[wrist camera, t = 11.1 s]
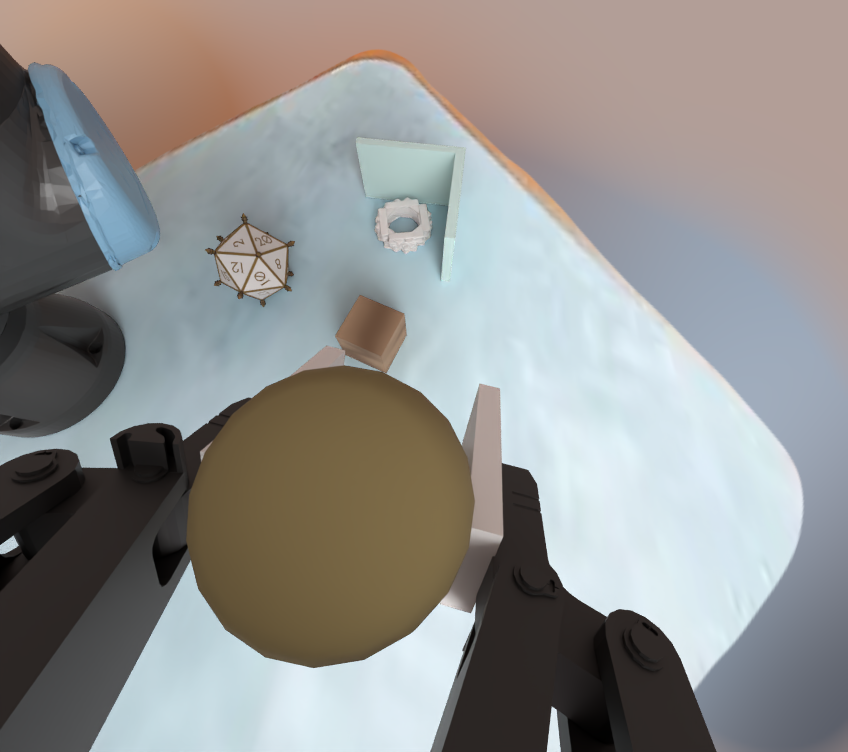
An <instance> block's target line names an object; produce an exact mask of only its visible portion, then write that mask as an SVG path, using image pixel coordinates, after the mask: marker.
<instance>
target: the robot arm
mask: <svg viewBox="0 0 848 752" xmlns="http://www.w3.org/2000/svg"><path fill="white" fill-rule="evenodd" d="M159 239H160V228H159V223H158V220H157V217H156V214H155V212H154V209H153V207H152V205H151V202H150V200H149V198H148V196H147V194H146V192H145V190H144V188H143V186H142V184H141V182H140V181H139V179H138V177H137V175H136V173H135V172H134V170H133V168H132V166H131V165H130V163H129V161H128V159H127V158H126V156H125V154H124V153H123V151H122V149H121V148H120V146H119V145H118V143H117V141H116V140H115V138H114V137H113V135H112V134H111V132H110V131H109V129H108V128H107V126H106V124H105V123H104V121H103V120H102V118H101V117H100V116H99V114H98V113H97V111H96V110H95V108H94V107H93V106H92V104H91V103H90V101H89V100H88V99H87V98H86V96H85V95H84V94H83V92H82V91H81V90H80V89H79V88H78V87H77V86H76V85H75V83H73V82H72V81H71V80H70V79H69V77H68V76H67V75H66V74H65V73H64V72H63V71H62V70H61V69H59V68H58V67H55V66H53V65H48V64H46V65H41V64H38V63H35V62H34V63H32V64H30V65H29V67H28V70H26V69H24V68H23V67H22V66H20V65H19V64H18V63H17V62H16V61H15V60H14V59H13V58H12V56H11V55H10V54H9V53H8V52H7V51H6V50H5V49H4V48H3V47H2V46H1V45H0V434H2V435H9V436H16V437H27V438H28V437H40V436H46V435H50V434H53V433H57V432H59V431H62V430H64V429H66V428H69V427H71V426H72V425H74V424H76V423H78V422H79V421H81V420H82V419H84V418H85V417H87V416H88V415H89V414H90V413H92V412H93V411H94V410H95V409H96V408H97V407H98V406H99V405H100V404H101V403H102V402H103V401H104V400H105V399H106V397H107V396H108V395H109V394H110V392H111V391H112V389H113V388H114V386H115V384H116V382H117V380H118V378H119V376H120V374H121V371H122V368H123V364H124V358H125V344H124V339H123V335H122V333H121V330H120V328H119V327H118V325H117V324H116V323H115V321H114V320H113V319H112V318H111V317H110V316H108V315H107V314H105V313H104V312H102V311H100V310H99V309H97V308H95V307H93V306H92V305H90V304H88V303H86V302H84V301H81V300H79V299H76V298H72V297H68V296H64V295H60V294H55V293H56V292H59V291H61V290H63V289H66V288H68V287H71V286H73V285H76V284H78V283H80V282H83V281H85V280H88V279H90V278H93V277H95V276H97V275H100V274H102V273H105V272H107V271H110V270H112V269H113V270H115V271H116V270H119V269H120V268H122V265H123V264H125V263H127V262H129V261H131V260H133V259H135V258H137V257H139V256H141V255H144V254H146V253H148V252H150V251H151V250H153V249H154V248H155V247H156V245H157V244H158V242H159ZM344 359H345V350H342V349H338V348H334V347H329V346H325V347H324V348H323V349H322V350H321V351H319V352H318V353H317V354H316V355H315V356H313V357H312V358H311V359H310V360H309V361H308V362H306V363H305V364H304V365H303V366H302V367H300V368H299V369H298V370H297V371H296V372H294V373H293V374H292V375H295V374H297V373H299V372H301V371H304V370H311V369H319V368H327V367H335V366H343V365H344ZM292 375H291V376H292ZM250 399H252V398H246V399H243V400H241V401H238V402H236V403H233V404H231V405H230V406H229V407H227V408H226V409H225V410H223V411H222V412H221V413H219V416H215V417H214V418H213V419H211V420H210V421H209V423H208V424H207V423H206V424H205V425H203V426H202V427H201V428H200V429H198V430H197V431H196V432H194V433H193V434H192V435H190V436H189V437H188V438H186V439H185V440H184V441H183V440H182V435H181V432H180V430H179V429H177V428H176V427H174V426H172V425H168V424H163V423H148V424H143V425H138V426H133V427H131V428H128V429H126V430H123V431H120V432H119V433H117V434H116V435H114V436H113V437H111V438H110V441H111V445H112V449H113V452H114V456H115V460H116V463H117V467H118V468H81V465H80V462H79V459H78V456H77V454H75V453H73V452H71V451H70V450H63V449H49V450H40V451H36V452H33V453H29V454H25V455H22V456H20V457H18V458H15V459H13V460H11V461H8V462H6V463H5V464H3V465H1V466H0V545H1V544H2V543H4V542H5V541H6V540H8V539H9V538H11V537H12V536H13V535H14V537H15V539H16V541H17V543H18V545H19V546H18V547H17V548H15V549H13V550H11V551H9V552H8V553H6V554H0V752H89V751H90V749H91V747H92V745H93V743H94V741H95V739H96V737H97V736H98V734H99V732H100V730H101V728H102V726H103V724H104V722H105V721H106V719H107V717H108V715H109V713H110V711H111V709H112V707H113V705H114V704H115V702H116V700H117V698H118V696H119V694H120V692H121V690H122V688H123V687H124V685H125V683H126V681H127V679H128V677H129V675H130V673H131V671H132V670H133V668H134V666H135V664H136V662H137V660H138V658H139V656H140V655H141V653H142V651H143V649H144V647H145V645H146V643H147V641H148V639H149V638H150V636H151V634H152V632H153V630H154V628H155V626H156V624H157V622H158V621H159V619H160V617H161V615H162V613H163V611H164V609H165V607H166V606H167V604H168V602H169V600H170V598H171V596H172V594H173V592H174V590H175V589H176V587H177V585H178V583H179V581H180V579H181V577H182V575H183V573H184V572H185V570H186V568H187V566H188V564H189V562H190V560H191V558H190V554H189V550H188V546H187V542H186V535H187V520H188V505H189V494H190V491H191V489H192V486H193V483H194V480H195V478H196V475H197V472H198V470H199V467H200V464H201V462H202V459H203V456H204V453H205V452H206V450H207V449H208V447H209V446H210V445H211V443H212V442H213V440H214V439H215V438H216V436H217V435H218V433H219V432H220V431H221V429H222V428H223V427H224V425H225V424H226V422H227V421H228V420H229V418H230V417H231V415H232V414H233V413H234V412H236V411H237V410H238V409H239V408H241V407H242V406H243V405H244V404H245V403H247V402H248V401H249V400H250ZM462 447H463V449H464V451H465V453H466V455H467V457H468V463H469V469H470V475H471V480H472V486H473V492H474V498H475V505H474V513H473V520H472V528H471V536H470V544H469V549H468V551H467V553H466V555H465V557H464V560H463V562H462V564H461V566H460V569H459V571H458V573H457V575H456V577H455V580H454V582H453V584H452V586H451V588H450V591H449V593H448V594H447V595H446V596H445V597H444V598H443V599H442V600H441V602H440V604H442V605H445V606H448V607H452V608H455V609H458V610H462V611H465V612H468V613H471V612H472V610H473V607H474V605H475V603H476V611H475V622H474V625H473V627H472V629H471V632H470V634H469V636H468V639H467V641H466V643H465V645H464V648H463V650H462V651H464V652H463V655H462V658H461V661H460V664H459V667H458V670H457V673H456V676H455V679H454V682H453V685H452V688H451V691H450V694H449V697H448V700H447V703H446V706H445V709H444V712H443V715H442V718H441V721H440V725H439V728H438V731H437V734H436V737H435V740H434V743H433V746H432V749H431V752H547V743H548V734H549V725H550V717H551V708H552V707H554V708H555V709H557V718H558V728H559V737H560V747H561V752H716V749H715V747H714V744H713V742H712V739H711V737H710V734H709V732H708V729H707V726H706V724H705V721H704V718H703V716H702V713H701V711H700V708H699V705H698V703H697V700H696V698H695V695H694V693H693V690H692V687H691V685H690V682H689V680H688V677H687V674H686V672H685V669H684V667H683V664H682V662H681V659H680V657H679V655H678V653H677V652H676V650H675V648H674V646H673V644H672V643H671V641H670V640H669V639H668V638H667V637H666V635H665V634H664V633H663V632H662V631H661V630H660V628H658V627H657V626H656V625H655V624H653V623H652V622H651V621H649V620H648V619H647V618H646V617H644V616H642V615H640V614H637V613H635V612H633V611H630V610H622V609H618V610H616V611H614V612H611V613H610V614H609V615H608V617H606V616H604V615H603V614H601V613H599V612H598V611H596V610H594V609H593V608H591V607H589V606H588V605H586V604H584V603H583V602H581V601H579V600H578V599H577V598H575V597H574V596H572V595H571V594H570V593H569V592H568V591H567V590H566V589H565V588H564V587H563V585H562V583H561V581H560V579H559V577H558V575H557V573H556V572H555V570H554V569H553V568H552V567H551V566H550V565H549V561H548V556H547V549H546V542H545V536H544V529H543V522H542V515H541V513H540V511H541V508H540V501H539V495H538V488H537V483H536V482H535V480H534V479H533V477H532V475H531V474H530V472H529V471H528V470H526V469H522V468H518V467H515V466H511V465H507V464H503V463H502V458H501V413H500V389H499V388H495V387H491V386H487V385H483V384H479V387H478V391H477V394H476V398H475V401H474V405H473V408H472V412H471V415H470V418H469V422H468V425H467V429H466V432H465V436H464V439H463V443H462Z"/></svg>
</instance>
